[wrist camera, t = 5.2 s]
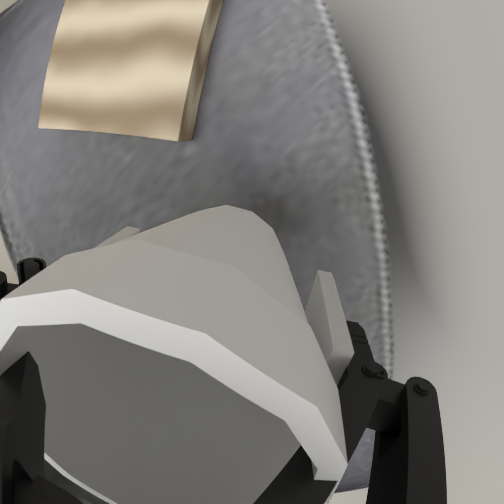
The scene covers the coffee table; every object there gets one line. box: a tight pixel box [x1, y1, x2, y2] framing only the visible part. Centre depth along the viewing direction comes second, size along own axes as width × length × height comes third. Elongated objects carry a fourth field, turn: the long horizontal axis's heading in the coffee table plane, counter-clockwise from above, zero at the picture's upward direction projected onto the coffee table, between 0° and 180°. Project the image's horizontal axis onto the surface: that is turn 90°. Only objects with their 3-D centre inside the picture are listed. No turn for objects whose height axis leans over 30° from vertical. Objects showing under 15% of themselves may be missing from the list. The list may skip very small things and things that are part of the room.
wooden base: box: [38, 0, 223, 141], centre depth 23 cm, size 16×16×4 cm
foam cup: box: [0, 205, 348, 504], centre depth 12 cm, size 10×9×13 cm
